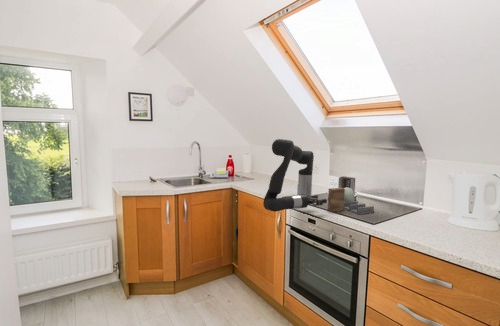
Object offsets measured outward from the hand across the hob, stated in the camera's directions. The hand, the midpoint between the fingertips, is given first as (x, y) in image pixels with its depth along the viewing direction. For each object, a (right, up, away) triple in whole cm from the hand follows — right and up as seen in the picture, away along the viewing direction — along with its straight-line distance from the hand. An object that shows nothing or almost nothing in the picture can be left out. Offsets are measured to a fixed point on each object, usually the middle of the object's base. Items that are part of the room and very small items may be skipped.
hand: (321, 199), depth 164 cm
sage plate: (+19, -6, +14) cm, 24 cm away
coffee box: (+24, -5, +28) cm, 37 cm away
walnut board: (+10, -7, +5) cm, 13 cm away
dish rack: (+21, -7, +8) cm, 24 cm away
